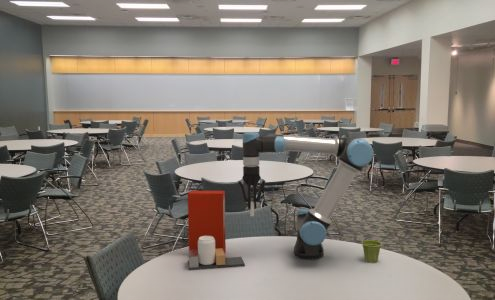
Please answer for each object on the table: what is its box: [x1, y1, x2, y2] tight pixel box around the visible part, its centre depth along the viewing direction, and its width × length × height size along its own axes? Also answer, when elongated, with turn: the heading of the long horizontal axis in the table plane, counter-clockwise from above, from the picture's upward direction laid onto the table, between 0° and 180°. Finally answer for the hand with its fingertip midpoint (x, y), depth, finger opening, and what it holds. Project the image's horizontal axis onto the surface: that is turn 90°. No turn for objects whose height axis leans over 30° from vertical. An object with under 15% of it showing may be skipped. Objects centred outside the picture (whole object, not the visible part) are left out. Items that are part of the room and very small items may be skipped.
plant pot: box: [361, 239, 383, 263], centre depth 224 cm, size 9×9×9 cm
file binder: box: [187, 190, 227, 255], centre depth 233 cm, size 8×17×32 cm, turn 85°
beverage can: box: [198, 236, 215, 265], centre depth 219 cm, size 8×8×12 cm
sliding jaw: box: [215, 248, 226, 265], centre depth 221 cm, size 4×10×5 cm, turn 10°
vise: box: [187, 249, 246, 271], centre depth 220 cm, size 26×10×6 cm, turn 100°
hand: (252, 215), depth 218 cm, fingers closed
